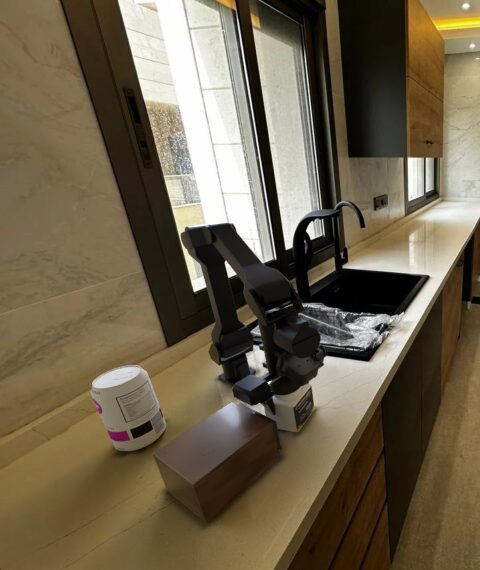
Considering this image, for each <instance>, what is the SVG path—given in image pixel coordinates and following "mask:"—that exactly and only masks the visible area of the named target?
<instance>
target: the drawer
mask: <svg viewBox="0 0 480 570" xmlns="http://www.w3.org/2000/svg"><path fill="white" fill-rule="evenodd" d="M237 405H239V406H241V407H243V408H244V409H246V410H248V411H250V412H252V413H254V414H256V415H258V416H260V417H261V418H263V419H265V420H267V421H269V422H271V423H272V425H273V430H274V435H275V439H276V444H277V449H278V452H280V451H281V450H282V443H281V439H280V433H279V429H278V428H277V423H276V421H274V420H272V419H271V418H269V417H267V416H266V414H262V413H260V412H259V411H257V410H255V409H254V408H252V407H249V405H248V406H247V405H246V404H244V403H243V402H240V403H237Z"/></svg>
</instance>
